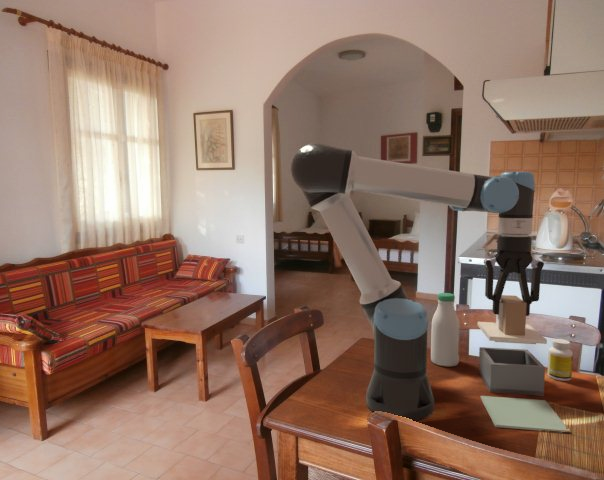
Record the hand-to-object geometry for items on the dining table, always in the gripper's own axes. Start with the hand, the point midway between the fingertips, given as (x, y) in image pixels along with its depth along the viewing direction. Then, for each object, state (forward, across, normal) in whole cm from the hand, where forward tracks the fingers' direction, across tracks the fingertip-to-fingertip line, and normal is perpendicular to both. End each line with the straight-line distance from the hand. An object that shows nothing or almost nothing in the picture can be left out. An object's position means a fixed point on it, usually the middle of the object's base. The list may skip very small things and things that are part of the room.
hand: (510, 327), depth 105 cm
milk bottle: (+15, -14, +12) cm, 23 cm away
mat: (+15, -2, -16) cm, 22 cm away
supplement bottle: (+15, +14, +6) cm, 21 cm away
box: (+15, 0, 0) cm, 15 cm away
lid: (+2, 0, 0) cm, 2 cm away
